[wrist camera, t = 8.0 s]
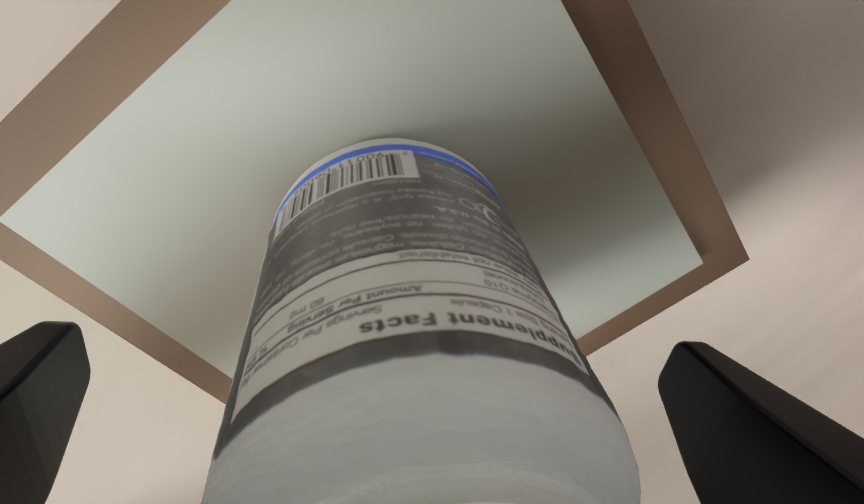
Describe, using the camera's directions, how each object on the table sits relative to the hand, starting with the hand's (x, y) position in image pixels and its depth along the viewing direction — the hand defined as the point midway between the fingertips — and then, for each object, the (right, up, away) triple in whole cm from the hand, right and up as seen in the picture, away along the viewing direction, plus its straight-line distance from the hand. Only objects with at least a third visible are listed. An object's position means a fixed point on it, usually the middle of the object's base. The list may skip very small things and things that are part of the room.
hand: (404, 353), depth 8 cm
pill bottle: (0, +2, +3) cm, 3 cm away
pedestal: (-1, +3, +5) cm, 6 cm away
